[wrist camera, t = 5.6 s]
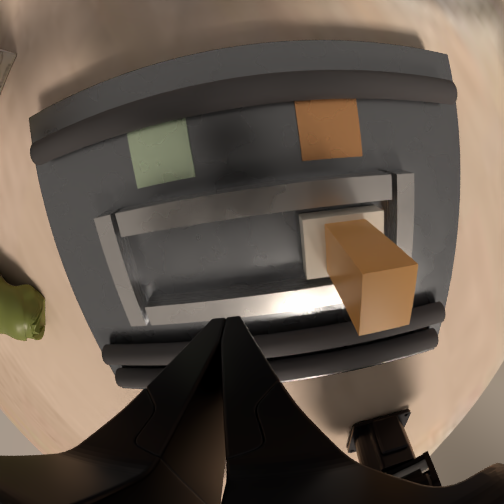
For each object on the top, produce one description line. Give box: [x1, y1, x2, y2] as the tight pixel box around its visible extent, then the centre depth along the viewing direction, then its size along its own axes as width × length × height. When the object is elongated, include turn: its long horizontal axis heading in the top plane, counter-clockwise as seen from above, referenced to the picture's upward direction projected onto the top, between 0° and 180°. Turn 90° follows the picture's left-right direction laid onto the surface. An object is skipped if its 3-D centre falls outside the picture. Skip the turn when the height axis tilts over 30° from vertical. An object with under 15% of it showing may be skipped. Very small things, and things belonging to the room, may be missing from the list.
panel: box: [29, 40, 460, 389], centre depth 15 cm, size 20×24×3 cm
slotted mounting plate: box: [30, 70, 457, 388], centre depth 14 cm, size 22×17×1 cm
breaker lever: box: [299, 205, 418, 336], centre depth 11 cm, size 3×4×6 cm
